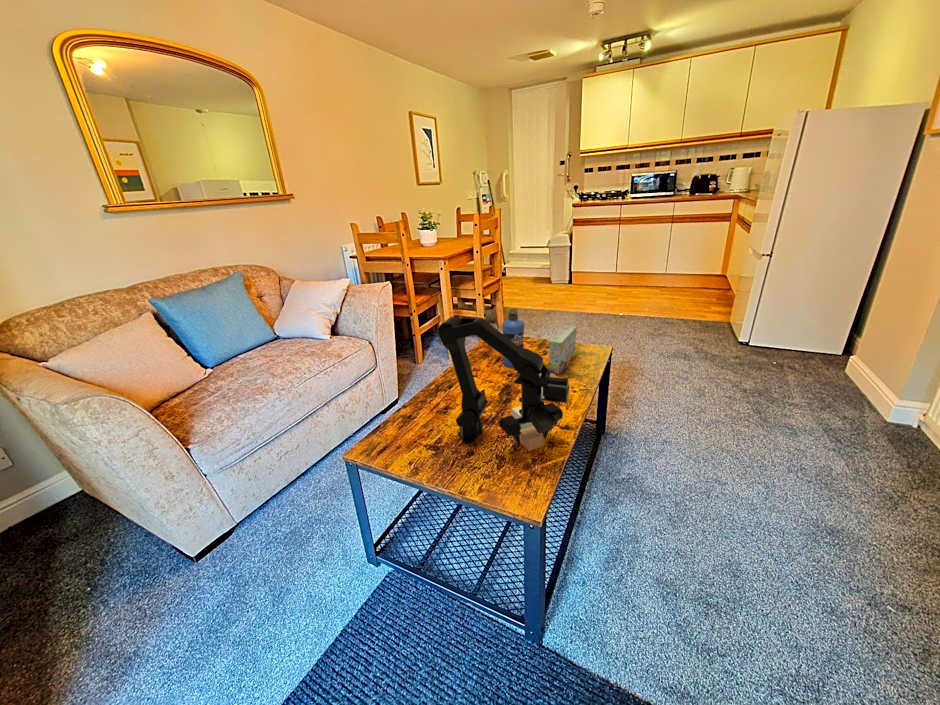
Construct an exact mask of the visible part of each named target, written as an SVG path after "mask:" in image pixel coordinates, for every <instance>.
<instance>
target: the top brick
mask: <svg viewBox="0 0 940 705" xmlns="http://www.w3.org/2000/svg"><path fill="white" fill-rule="evenodd" d="M520 432H521V434H520V445H522V446H523V447H524V448H525V449H526V451H528V452H531V451H533V450H536V449H540V448H542V447H544V438H543V435H542V433H538V432H537V431H536V429H535V427H533V428H529V429H526V430H523V431H520Z"/></svg>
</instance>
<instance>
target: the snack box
mask: <svg viewBox="0 0 940 705" xmlns="http://www.w3.org/2000/svg"><path fill="white" fill-rule="evenodd" d="M577 329H578V328H577V326H576V325H567V324H565V325H564V326H563V327H562V328H561V329H560V330H559V331H558V332H557V333H556V334H555V335H554V336H553V337H552V338H551V339H550V340H549V343H548V344H549V345H548V361H547V362H548V366H547V369H548V370H549V371H550V373H553V374H555V375H556V376H557V377H560V376H561V375H562V373H563V372H564V371H565V369H566V368H567V367H568V366H569V364H570V363H571V362H572V361H573V360H574V359H575V353H576V352H575V351H576V339H577Z"/></svg>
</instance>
